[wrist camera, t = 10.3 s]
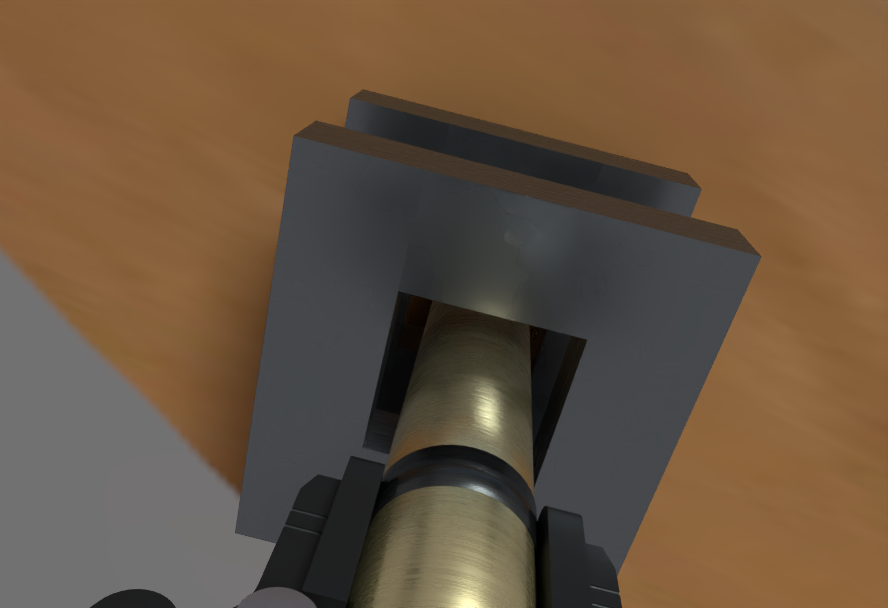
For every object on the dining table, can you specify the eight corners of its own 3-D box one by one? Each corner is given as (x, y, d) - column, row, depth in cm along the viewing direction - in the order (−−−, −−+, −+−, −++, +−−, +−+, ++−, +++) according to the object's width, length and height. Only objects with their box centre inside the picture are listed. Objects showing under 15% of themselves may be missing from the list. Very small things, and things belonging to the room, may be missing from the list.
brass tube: (446, 238, 24) (294, 759, 8) (542, 263, 24) (584, 833, 8) (425, 324, 26) (257, 919, 9) (515, 347, 26) (506, 981, 9)
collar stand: (374, 81, 26) (293, 135, 16) (675, 160, 26) (761, 256, 17) (320, 369, 31) (235, 532, 21) (573, 433, 31) (595, 624, 22)
